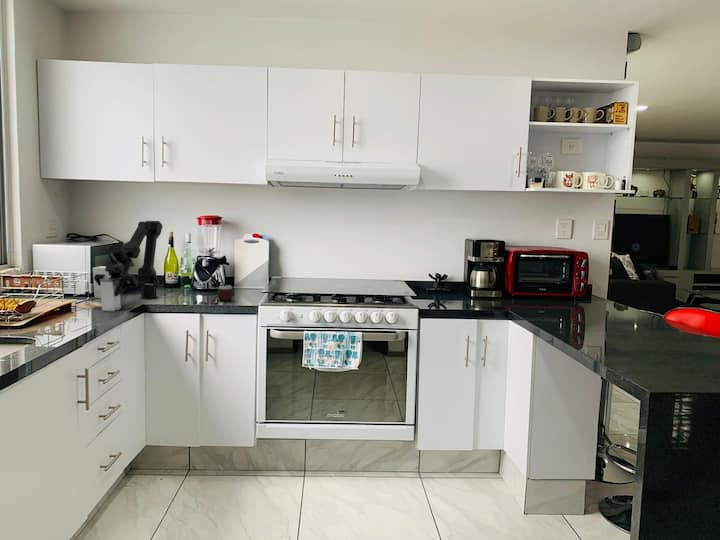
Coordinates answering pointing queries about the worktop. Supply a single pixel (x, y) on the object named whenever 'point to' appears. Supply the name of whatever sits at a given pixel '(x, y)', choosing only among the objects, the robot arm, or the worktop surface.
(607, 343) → the worktop surface
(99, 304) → the oak board
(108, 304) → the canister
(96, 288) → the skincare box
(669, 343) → the worktop surface
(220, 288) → the mate gourd
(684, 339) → the worktop surface
